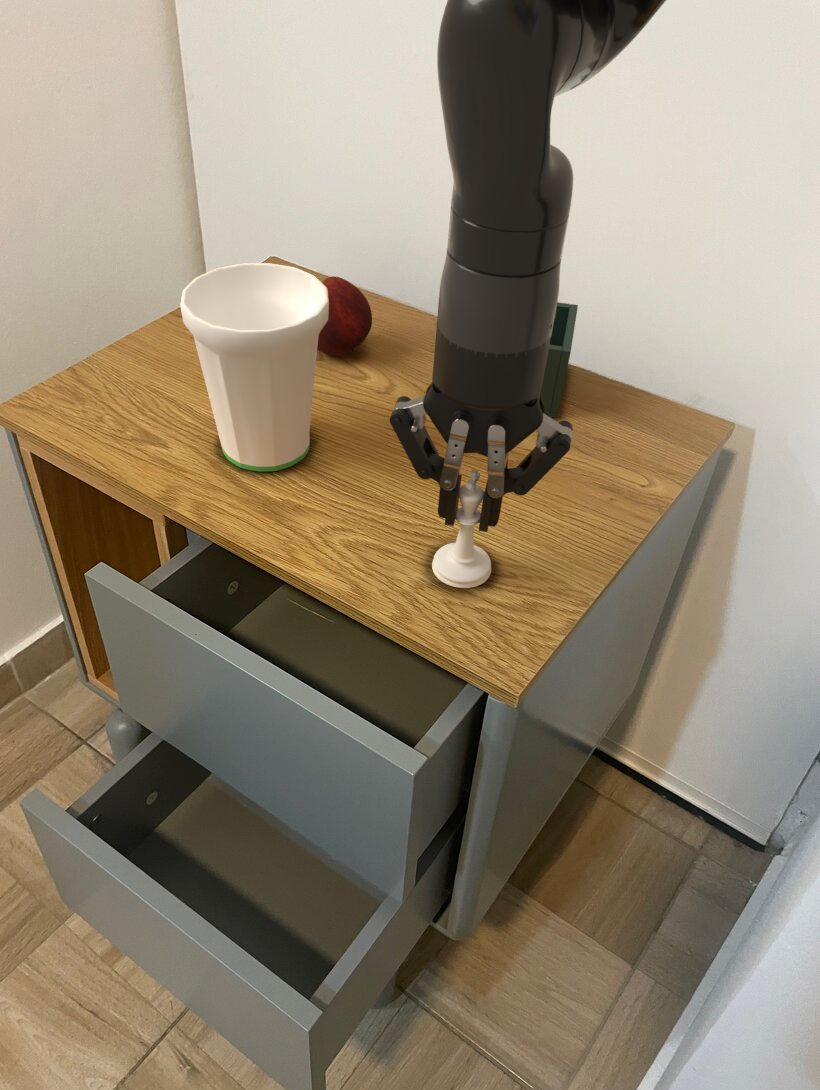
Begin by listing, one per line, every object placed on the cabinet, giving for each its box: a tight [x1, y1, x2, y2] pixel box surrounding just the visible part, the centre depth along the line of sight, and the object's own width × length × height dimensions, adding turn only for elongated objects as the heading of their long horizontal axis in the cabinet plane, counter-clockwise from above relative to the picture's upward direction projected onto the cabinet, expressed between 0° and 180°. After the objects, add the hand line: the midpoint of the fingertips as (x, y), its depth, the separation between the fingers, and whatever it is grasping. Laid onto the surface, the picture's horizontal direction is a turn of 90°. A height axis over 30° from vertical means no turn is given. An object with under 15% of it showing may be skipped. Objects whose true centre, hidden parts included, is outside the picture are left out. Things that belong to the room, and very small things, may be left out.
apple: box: [317, 276, 373, 356], centre depth 94 cm, size 7×8×8 cm
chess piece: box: [431, 468, 492, 589], centre depth 69 cm, size 5×5×10 cm
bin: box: [541, 301, 579, 419], centre depth 90 cm, size 10×10×8 cm
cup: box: [179, 262, 329, 472], centre depth 79 cm, size 12×12×15 cm
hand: (468, 521), depth 69 cm, fingers closed on chess piece
